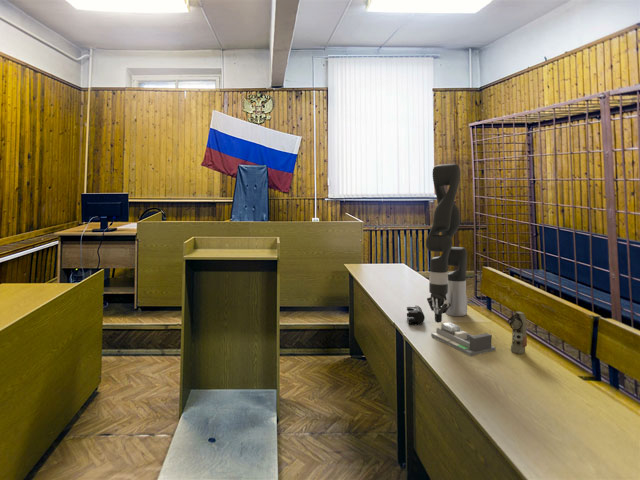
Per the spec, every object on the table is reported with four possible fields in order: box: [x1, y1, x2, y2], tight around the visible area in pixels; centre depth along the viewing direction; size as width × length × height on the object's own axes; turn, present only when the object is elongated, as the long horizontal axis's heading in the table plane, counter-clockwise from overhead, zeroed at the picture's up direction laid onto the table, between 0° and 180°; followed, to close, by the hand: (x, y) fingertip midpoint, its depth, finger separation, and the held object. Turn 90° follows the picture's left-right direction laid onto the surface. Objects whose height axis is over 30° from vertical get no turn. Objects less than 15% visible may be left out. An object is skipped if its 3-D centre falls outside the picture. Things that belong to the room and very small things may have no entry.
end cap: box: [406, 305, 426, 326], centre depth 172 cm, size 10×7×7 cm
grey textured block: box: [440, 321, 461, 335], centre depth 151 cm, size 4×8×4 cm, turn 21°
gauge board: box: [430, 327, 497, 357], centre depth 146 cm, size 12×22×6 cm, turn 21°
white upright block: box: [454, 330, 468, 340], centre depth 146 cm, size 4×2×3 cm, turn 111°
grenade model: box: [506, 310, 528, 355], centre depth 134 cm, size 6×7×15 cm
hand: (438, 321), depth 158 cm, fingers closed
